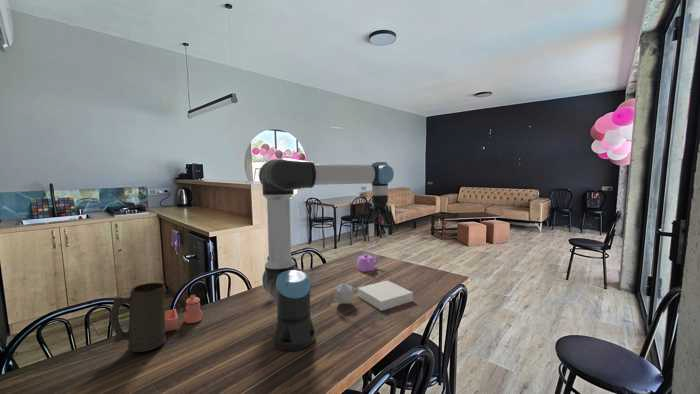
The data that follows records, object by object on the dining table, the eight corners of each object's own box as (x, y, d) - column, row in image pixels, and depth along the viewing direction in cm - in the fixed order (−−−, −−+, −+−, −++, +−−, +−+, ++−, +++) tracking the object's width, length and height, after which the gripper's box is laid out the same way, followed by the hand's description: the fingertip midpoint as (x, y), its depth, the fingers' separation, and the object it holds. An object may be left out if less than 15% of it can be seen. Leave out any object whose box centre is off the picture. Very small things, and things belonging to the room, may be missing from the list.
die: (331, 302, 133) (330, 280, 132) (349, 298, 137) (349, 277, 136) (338, 310, 125) (338, 287, 125) (357, 306, 129) (357, 284, 128)
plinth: (381, 310, 125) (381, 301, 124) (357, 296, 140) (357, 287, 140) (412, 300, 134) (412, 292, 134) (387, 288, 149) (387, 280, 149)
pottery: (148, 336, 105) (147, 308, 105) (148, 325, 113) (147, 300, 112) (204, 322, 115) (203, 297, 115) (200, 313, 123) (200, 290, 123)
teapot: (360, 275, 169) (360, 258, 168) (354, 268, 182) (354, 252, 181) (385, 273, 172) (385, 256, 171) (377, 266, 185) (377, 251, 184)
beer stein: (161, 331, 109) (158, 279, 107) (173, 342, 102) (170, 285, 101) (108, 351, 97) (104, 292, 95) (118, 364, 90) (114, 301, 89)
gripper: (404, 196, 131) (403, 243, 133) (370, 193, 152) (370, 233, 154) (390, 196, 127) (390, 245, 129) (358, 193, 148) (358, 235, 150)
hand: (379, 239), depth 141 cm, fingers open, 13 cm apart
